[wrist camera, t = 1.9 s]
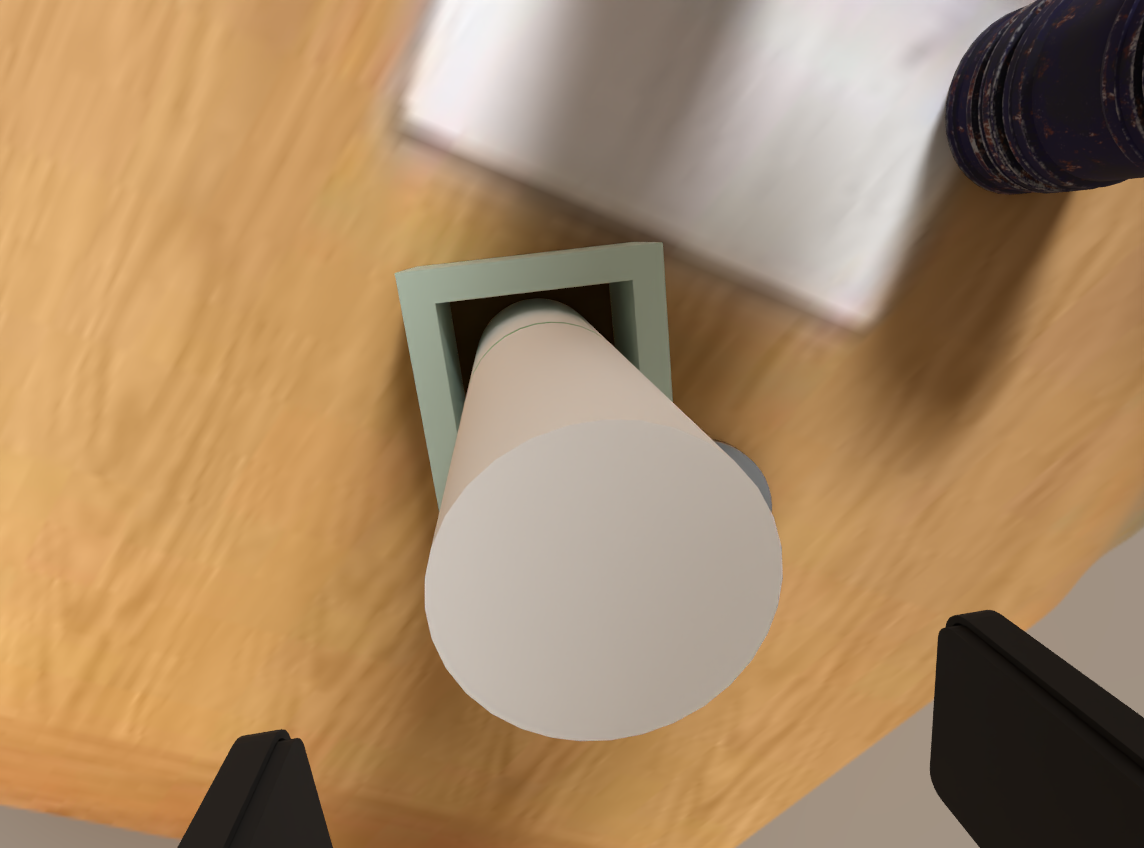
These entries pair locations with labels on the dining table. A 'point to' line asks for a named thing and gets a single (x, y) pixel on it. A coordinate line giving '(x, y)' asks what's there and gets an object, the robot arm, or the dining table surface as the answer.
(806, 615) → the dining table surface
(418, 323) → the collar
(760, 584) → the cylindrical container
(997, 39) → the storage jar
